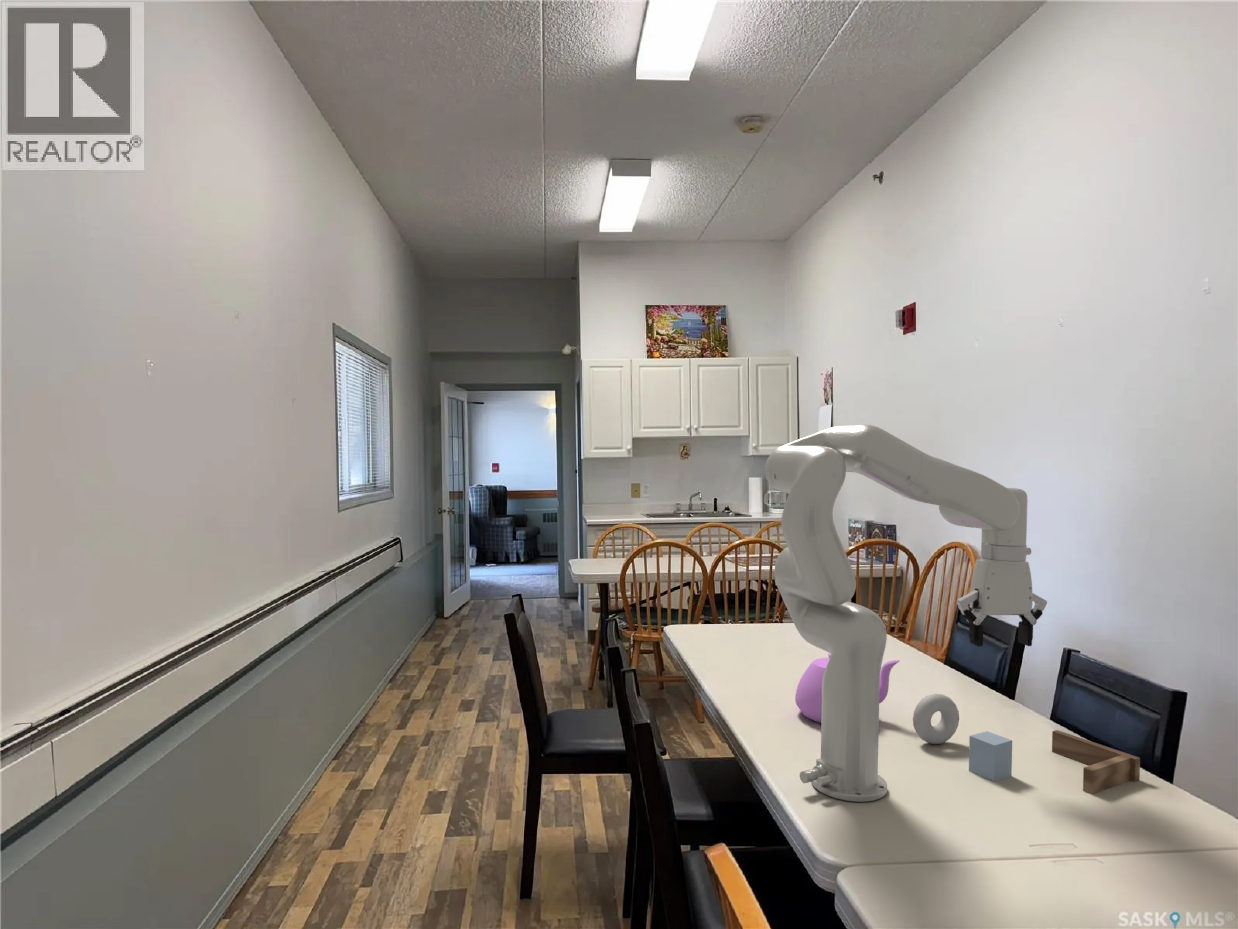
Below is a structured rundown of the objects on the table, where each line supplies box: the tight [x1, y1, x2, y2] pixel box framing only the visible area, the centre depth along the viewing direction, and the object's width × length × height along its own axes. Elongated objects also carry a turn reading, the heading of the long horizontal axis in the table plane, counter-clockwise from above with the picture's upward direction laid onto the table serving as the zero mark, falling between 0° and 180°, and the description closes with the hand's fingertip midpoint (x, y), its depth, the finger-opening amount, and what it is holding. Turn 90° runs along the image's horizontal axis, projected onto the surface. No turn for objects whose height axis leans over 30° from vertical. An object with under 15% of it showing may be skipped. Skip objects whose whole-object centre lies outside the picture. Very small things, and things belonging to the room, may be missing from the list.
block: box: [968, 731, 1013, 782], centre depth 138 cm, size 5×5×6 cm
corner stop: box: [1051, 729, 1141, 795], centre depth 139 cm, size 14×15×4 cm
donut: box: [912, 693, 960, 745], centre depth 151 cm, size 10×4×10 cm, turn 105°
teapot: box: [794, 652, 901, 723], centre depth 165 cm, size 22×22×14 cm
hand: (1000, 644), depth 143 cm, fingers open, 9 cm apart
